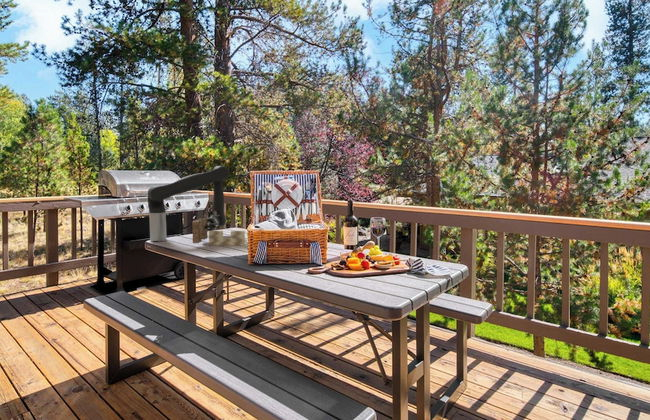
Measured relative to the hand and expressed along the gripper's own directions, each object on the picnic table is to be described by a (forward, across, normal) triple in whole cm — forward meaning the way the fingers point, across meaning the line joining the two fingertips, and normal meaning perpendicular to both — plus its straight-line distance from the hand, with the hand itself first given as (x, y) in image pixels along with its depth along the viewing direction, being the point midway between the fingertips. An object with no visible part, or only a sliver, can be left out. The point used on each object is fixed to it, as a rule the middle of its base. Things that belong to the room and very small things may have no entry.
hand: (202, 227), depth 244 cm
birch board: (+4, +15, +10) cm, 18 cm away
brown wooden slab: (+4, 0, +7) cm, 8 cm away
